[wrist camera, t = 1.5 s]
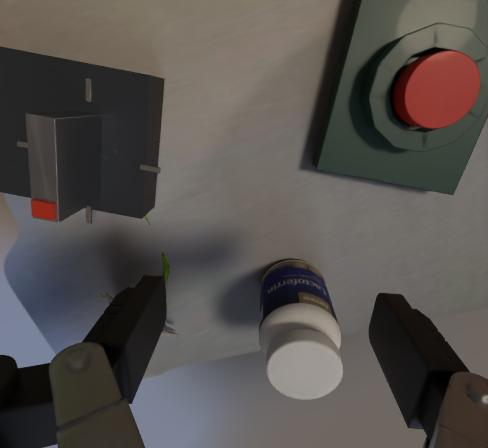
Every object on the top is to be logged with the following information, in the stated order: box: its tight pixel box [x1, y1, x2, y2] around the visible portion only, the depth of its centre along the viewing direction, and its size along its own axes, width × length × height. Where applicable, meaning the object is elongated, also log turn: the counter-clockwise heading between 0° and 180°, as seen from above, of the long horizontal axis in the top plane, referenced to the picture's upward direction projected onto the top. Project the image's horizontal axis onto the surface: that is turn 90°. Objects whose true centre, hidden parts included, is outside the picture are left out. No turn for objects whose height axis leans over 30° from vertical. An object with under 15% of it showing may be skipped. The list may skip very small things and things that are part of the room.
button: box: [393, 50, 480, 129], centre depth 18 cm, size 4×4×2 cm
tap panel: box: [0, 47, 164, 224], centre depth 24 cm, size 11×13×3 cm
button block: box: [313, 0, 488, 195], centre depth 21 cm, size 12×10×4 cm
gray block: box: [25, 111, 100, 222], centre depth 20 cm, size 6×2×5 cm, turn 170°
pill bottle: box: [259, 260, 343, 400], centre depth 24 cm, size 6×6×10 cm
